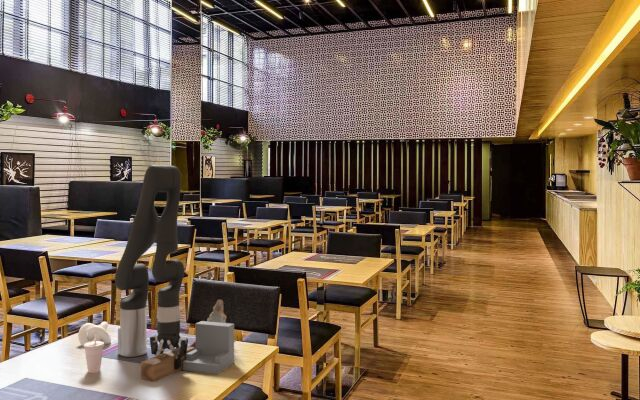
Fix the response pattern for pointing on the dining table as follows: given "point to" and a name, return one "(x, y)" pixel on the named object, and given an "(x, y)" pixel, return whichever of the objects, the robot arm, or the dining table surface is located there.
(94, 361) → the smoothie
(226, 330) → the bracket
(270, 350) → the dining table surface
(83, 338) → the cream rounded lobed piece
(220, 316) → the figurine
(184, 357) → the rail
